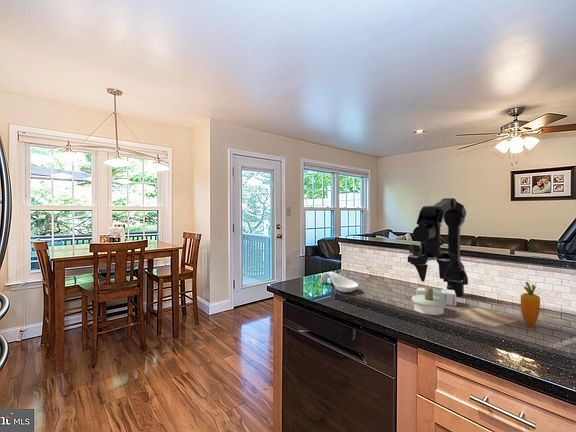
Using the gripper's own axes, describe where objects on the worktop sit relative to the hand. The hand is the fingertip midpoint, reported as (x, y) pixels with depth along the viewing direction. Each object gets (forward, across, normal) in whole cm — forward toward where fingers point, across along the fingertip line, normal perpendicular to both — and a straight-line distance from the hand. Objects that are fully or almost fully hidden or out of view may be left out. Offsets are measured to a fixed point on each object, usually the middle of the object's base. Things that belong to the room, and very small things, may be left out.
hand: (432, 280), depth 111 cm
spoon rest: (+13, +16, -44) cm, 48 cm away
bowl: (+12, +2, 0) cm, 12 cm away
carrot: (+12, -17, +24) cm, 31 cm away
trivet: (+12, -12, +13) cm, 21 cm away
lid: (+8, +2, 0) cm, 8 cm away
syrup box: (+9, -3, -11) cm, 15 cm away
